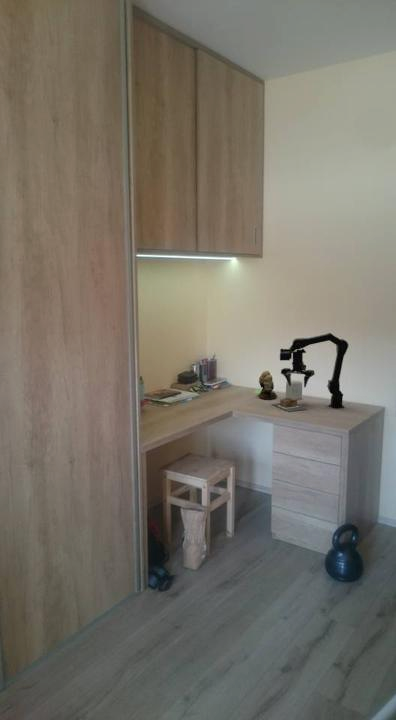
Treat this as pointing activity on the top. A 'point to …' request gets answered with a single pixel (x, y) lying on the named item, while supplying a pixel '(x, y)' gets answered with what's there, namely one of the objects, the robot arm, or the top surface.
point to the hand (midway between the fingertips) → (297, 386)
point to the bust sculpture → (267, 386)
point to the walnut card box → (288, 402)
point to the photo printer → (294, 389)
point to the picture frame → (289, 408)
